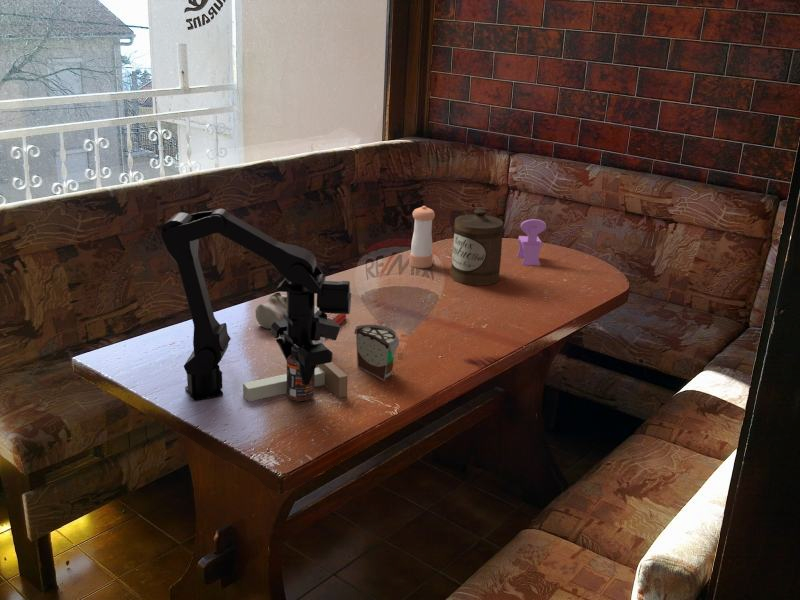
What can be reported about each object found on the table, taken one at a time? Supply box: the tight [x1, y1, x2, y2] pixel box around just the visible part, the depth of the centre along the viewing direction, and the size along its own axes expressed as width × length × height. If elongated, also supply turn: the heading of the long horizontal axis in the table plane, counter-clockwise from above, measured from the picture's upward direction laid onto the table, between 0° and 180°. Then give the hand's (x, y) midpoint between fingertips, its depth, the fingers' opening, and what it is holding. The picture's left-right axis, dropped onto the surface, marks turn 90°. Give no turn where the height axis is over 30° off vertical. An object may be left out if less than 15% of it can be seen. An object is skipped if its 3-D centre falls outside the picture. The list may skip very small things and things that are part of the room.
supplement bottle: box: [286, 345, 316, 402], centre depth 178 cm, size 6×6×11 cm
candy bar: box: [327, 313, 347, 326], centre depth 216 cm, size 16×4×3 cm, turn 160°
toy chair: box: [516, 218, 547, 267], centre depth 273 cm, size 8×9×15 cm
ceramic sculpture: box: [255, 291, 287, 330], centre depth 217 cm, size 11×9×15 cm
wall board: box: [242, 361, 348, 402], centre depth 181 cm, size 20×10×5 cm, turn 121°
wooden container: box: [450, 207, 504, 286], centre depth 254 cm, size 15×15×22 cm
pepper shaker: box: [409, 205, 436, 269], centre depth 263 cm, size 7×7×19 cm
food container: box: [353, 324, 400, 382], centre depth 193 cm, size 12×6×10 cm, turn 44°
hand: (300, 378), depth 179 cm, fingers closed on supplement bottle, 6 cm apart
